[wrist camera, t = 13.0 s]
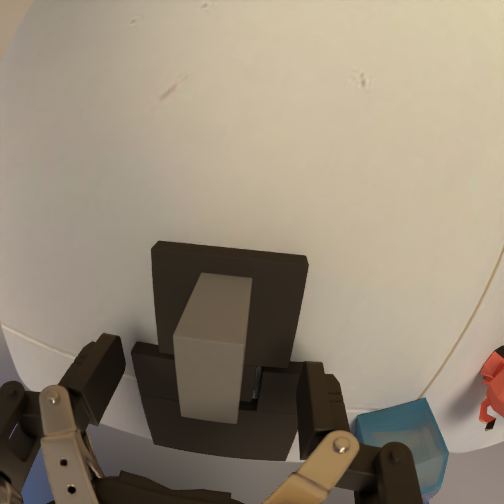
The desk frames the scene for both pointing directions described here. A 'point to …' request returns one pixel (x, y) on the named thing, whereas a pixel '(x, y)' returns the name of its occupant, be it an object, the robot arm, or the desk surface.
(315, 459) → the robot arm
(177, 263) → the tab pad
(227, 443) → the notch pad
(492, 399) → the cat figurine
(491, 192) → the desk surface
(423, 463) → the perfume bottle
